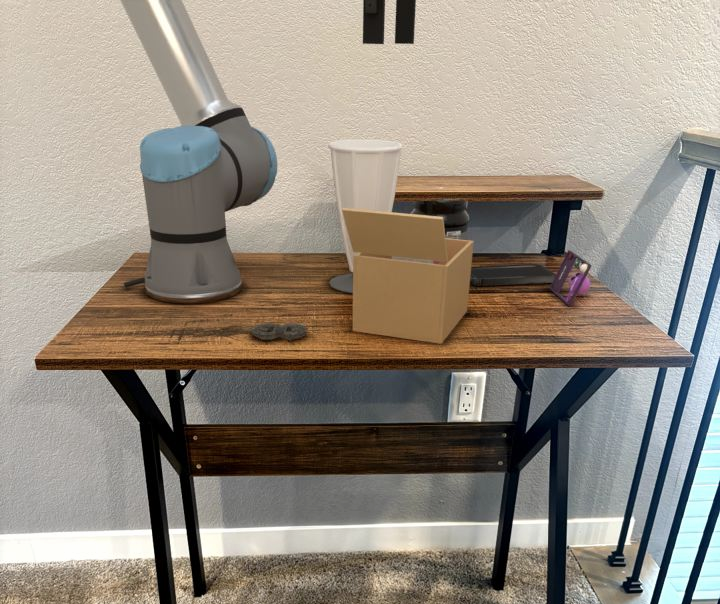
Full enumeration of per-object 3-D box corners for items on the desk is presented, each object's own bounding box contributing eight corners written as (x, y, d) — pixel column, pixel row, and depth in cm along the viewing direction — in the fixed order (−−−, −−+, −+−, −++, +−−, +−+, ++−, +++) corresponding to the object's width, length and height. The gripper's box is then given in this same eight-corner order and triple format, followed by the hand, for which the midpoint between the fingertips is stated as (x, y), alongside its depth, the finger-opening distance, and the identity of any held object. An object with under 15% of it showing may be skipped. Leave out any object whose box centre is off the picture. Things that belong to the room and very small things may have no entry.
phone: (460, 267, 128) (540, 263, 131) (459, 273, 128) (539, 270, 131) (474, 279, 121) (558, 275, 124) (474, 286, 122) (557, 282, 125)
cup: (343, 271, 129) (343, 137, 118) (405, 278, 126) (412, 141, 114) (318, 289, 119) (316, 145, 108) (385, 297, 116) (390, 150, 105)
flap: (447, 260, 93) (447, 262, 93) (354, 249, 97) (353, 252, 97) (443, 216, 87) (442, 219, 87) (342, 207, 91) (341, 209, 91)
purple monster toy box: (564, 248, 118) (585, 263, 111) (591, 258, 120) (614, 274, 112) (545, 287, 121) (564, 304, 114) (572, 296, 123) (592, 314, 115)
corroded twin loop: (306, 342, 98) (306, 335, 98) (247, 341, 98) (247, 334, 98) (309, 329, 103) (309, 322, 102) (252, 328, 103) (252, 321, 102)
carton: (441, 344, 99) (447, 266, 94) (352, 331, 103) (353, 255, 98) (467, 311, 111) (473, 240, 106) (386, 300, 115) (388, 232, 110)
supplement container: (420, 254, 140) (423, 187, 134) (472, 261, 136) (479, 193, 130) (398, 267, 132) (401, 197, 125) (453, 275, 128) (459, 203, 122)
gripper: (393, -182, 79) (386, 44, 91) (450, -137, 100) (439, 44, 111) (329, -178, 82) (330, 43, 93) (398, -135, 102) (392, 43, 113)
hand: (389, 44), depth 102 cm, fingers open, 13 cm apart
